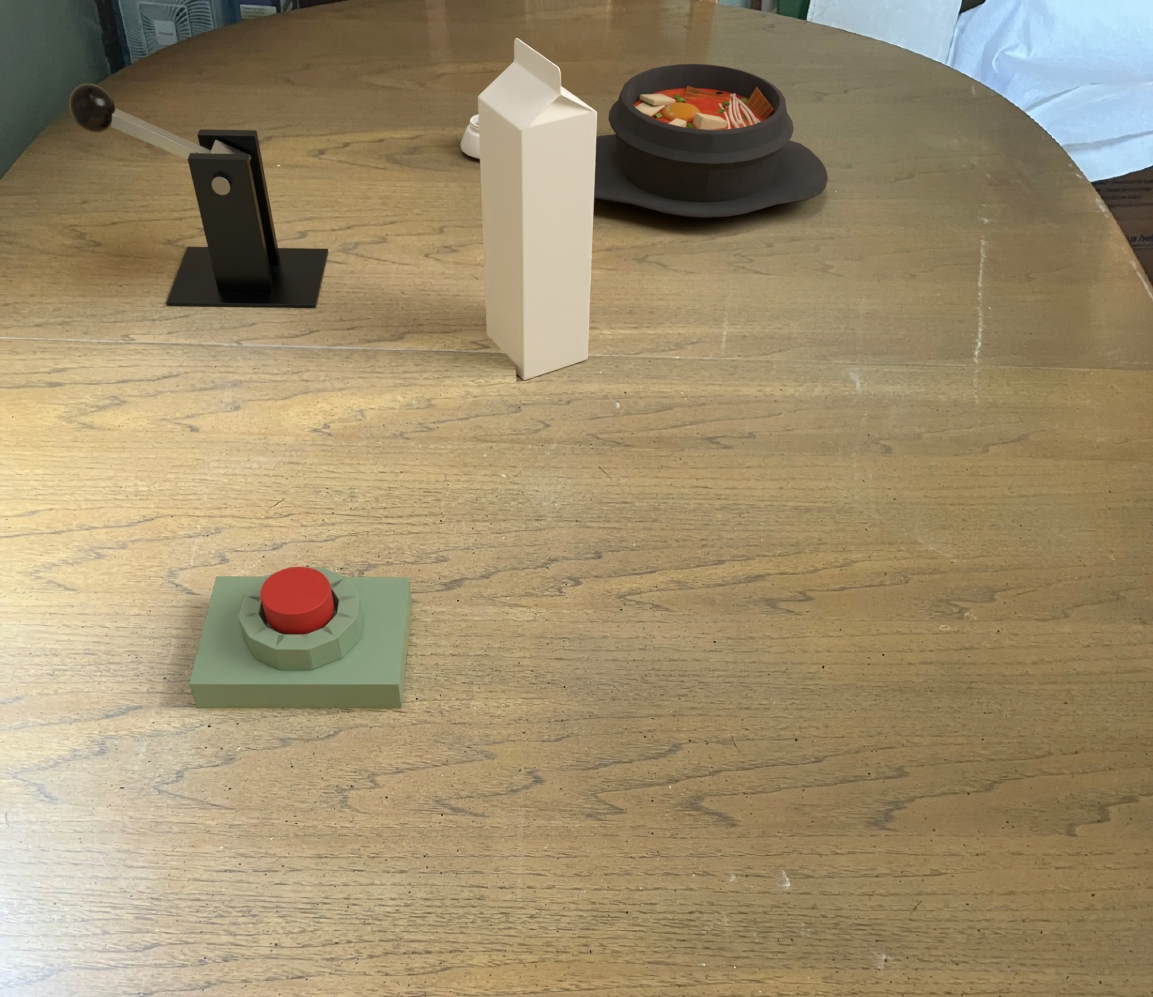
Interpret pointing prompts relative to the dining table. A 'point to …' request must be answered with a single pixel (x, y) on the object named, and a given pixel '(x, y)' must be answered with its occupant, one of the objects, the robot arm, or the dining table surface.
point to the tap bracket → (241, 237)
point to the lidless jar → (471, 138)
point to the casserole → (703, 145)
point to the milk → (537, 214)
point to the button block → (305, 648)
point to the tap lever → (131, 123)
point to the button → (297, 600)
